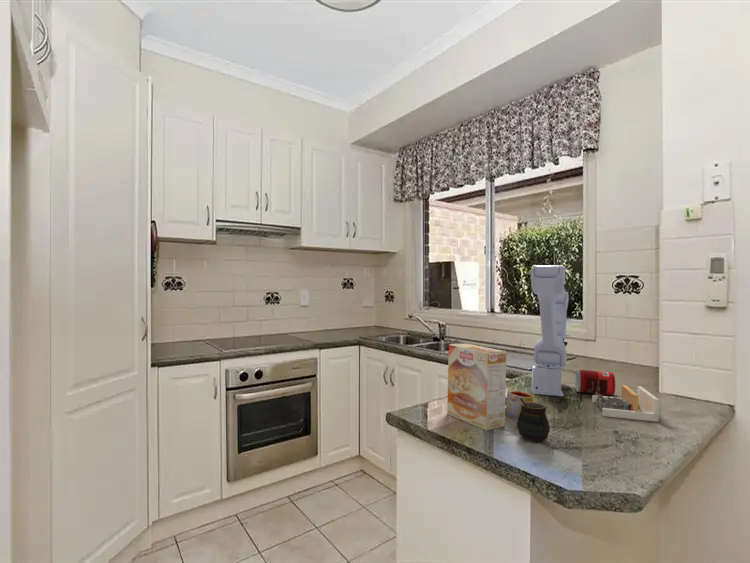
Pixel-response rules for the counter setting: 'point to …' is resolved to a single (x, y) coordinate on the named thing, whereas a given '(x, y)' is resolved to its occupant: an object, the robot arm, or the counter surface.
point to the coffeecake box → (477, 385)
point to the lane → (645, 403)
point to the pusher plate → (630, 397)
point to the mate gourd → (533, 422)
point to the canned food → (595, 382)
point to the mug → (516, 403)
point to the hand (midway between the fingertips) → (557, 358)
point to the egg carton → (612, 403)
